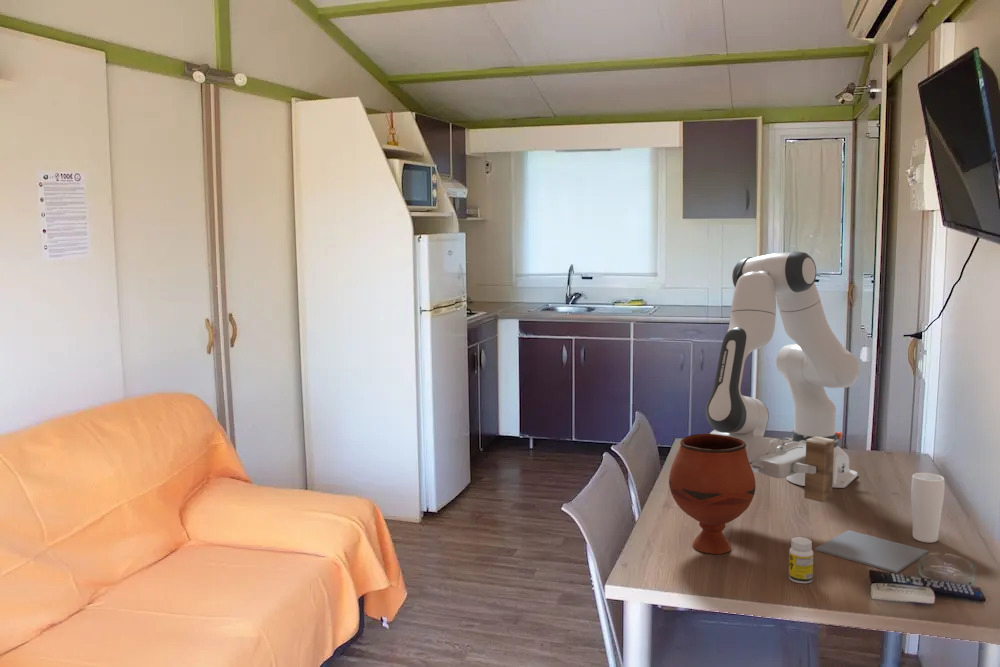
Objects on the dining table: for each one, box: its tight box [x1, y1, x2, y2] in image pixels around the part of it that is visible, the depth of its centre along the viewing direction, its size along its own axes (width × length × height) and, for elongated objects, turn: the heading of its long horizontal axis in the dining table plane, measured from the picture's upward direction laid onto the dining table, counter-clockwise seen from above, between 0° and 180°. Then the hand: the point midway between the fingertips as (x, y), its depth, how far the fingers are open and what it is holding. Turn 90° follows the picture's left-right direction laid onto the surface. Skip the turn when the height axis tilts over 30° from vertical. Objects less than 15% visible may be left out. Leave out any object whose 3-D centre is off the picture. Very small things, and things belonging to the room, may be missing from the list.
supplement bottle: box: [788, 536, 814, 584], centre depth 174 cm, size 5×5×8 cm
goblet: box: [668, 432, 757, 555], centre depth 191 cm, size 19×19×25 cm
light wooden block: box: [803, 436, 834, 503], centre depth 196 cm, size 4×4×14 cm
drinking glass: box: [910, 472, 945, 544], centre depth 194 cm, size 7×7×15 cm
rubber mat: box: [815, 529, 928, 574], centre depth 189 cm, size 16×18×1 cm
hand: (822, 467), depth 195 cm, fingers closed on light wooden block, 4 cm apart
